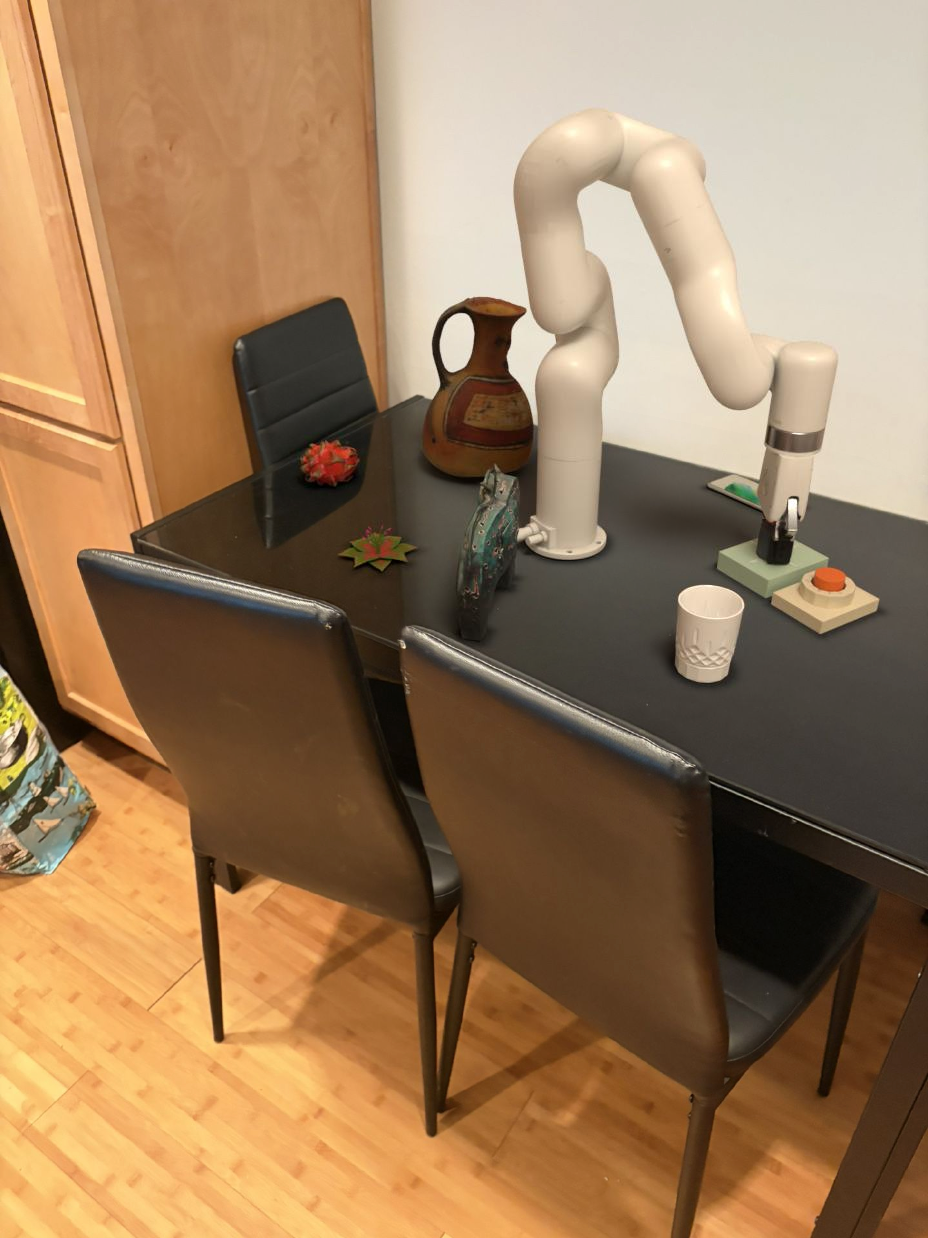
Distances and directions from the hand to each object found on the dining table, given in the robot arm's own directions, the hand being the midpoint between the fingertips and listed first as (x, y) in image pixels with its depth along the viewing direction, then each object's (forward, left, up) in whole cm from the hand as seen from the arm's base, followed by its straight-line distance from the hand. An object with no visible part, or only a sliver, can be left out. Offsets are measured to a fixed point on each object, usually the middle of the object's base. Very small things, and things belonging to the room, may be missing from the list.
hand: (773, 551), depth 141 cm
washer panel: (0, 0, -3) cm, 3 cm away
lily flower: (-47, +36, -4) cm, 59 cm away
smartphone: (+16, +20, -4) cm, 26 cm away
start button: (-1, -11, 0) cm, 11 cm away
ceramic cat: (-40, +14, -4) cm, 43 cm away
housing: (-1, -11, -3) cm, 12 cm away
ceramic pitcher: (-17, +56, -4) cm, 59 cm away
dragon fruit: (-42, +65, -4) cm, 77 cm away
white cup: (-25, -13, -4) cm, 28 cm away
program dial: (0, 0, 0) cm, 0 cm away
